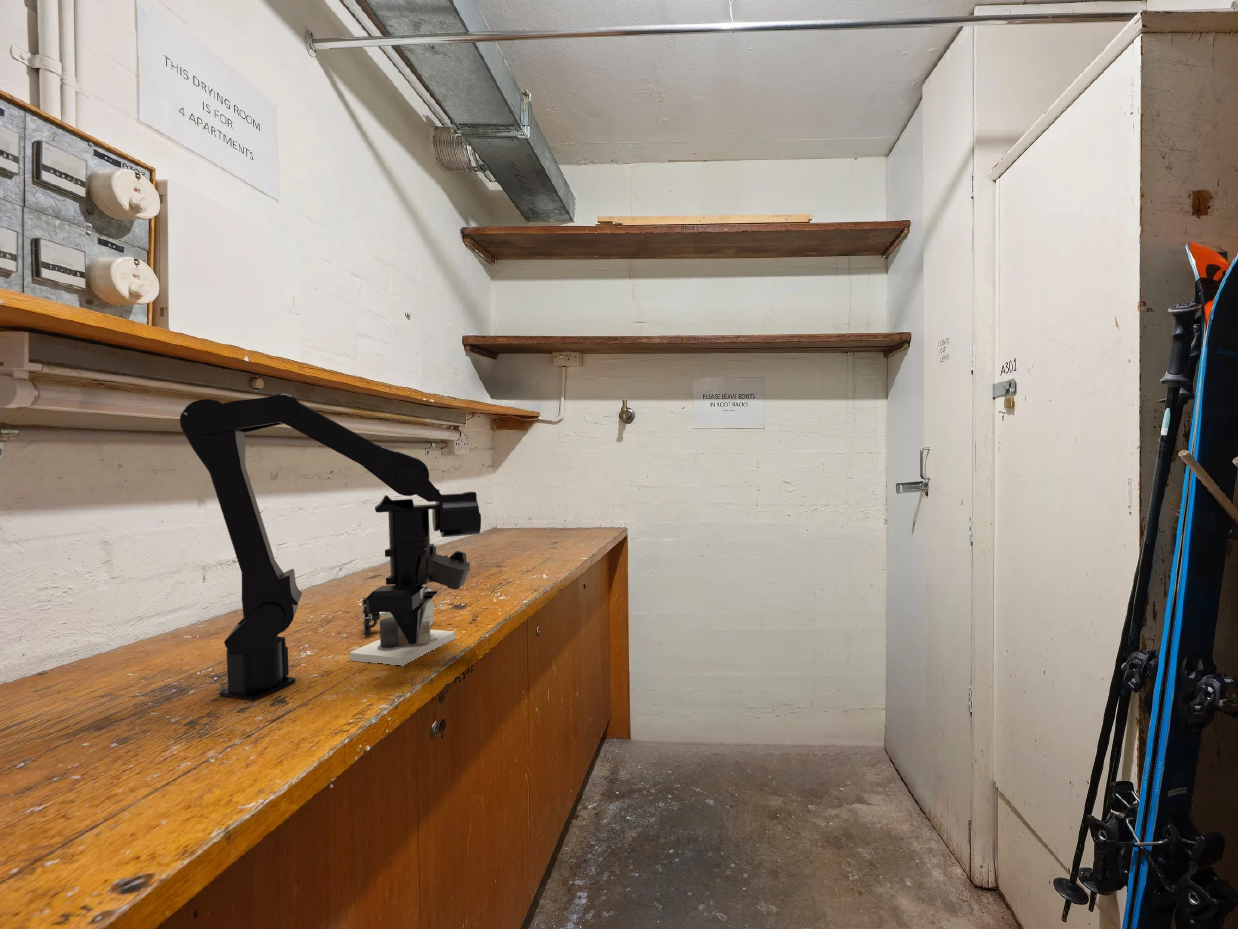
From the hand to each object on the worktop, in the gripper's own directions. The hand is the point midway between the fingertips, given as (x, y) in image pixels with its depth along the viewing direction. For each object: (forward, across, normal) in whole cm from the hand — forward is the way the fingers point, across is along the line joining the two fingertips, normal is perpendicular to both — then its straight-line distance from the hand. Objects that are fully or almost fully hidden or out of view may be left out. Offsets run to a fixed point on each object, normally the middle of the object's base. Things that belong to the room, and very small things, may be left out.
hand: (413, 643), depth 85 cm
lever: (+1, +5, +3) cm, 6 cm away
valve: (+3, +18, +8) cm, 20 cm away
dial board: (+3, +6, +4) cm, 8 cm away
